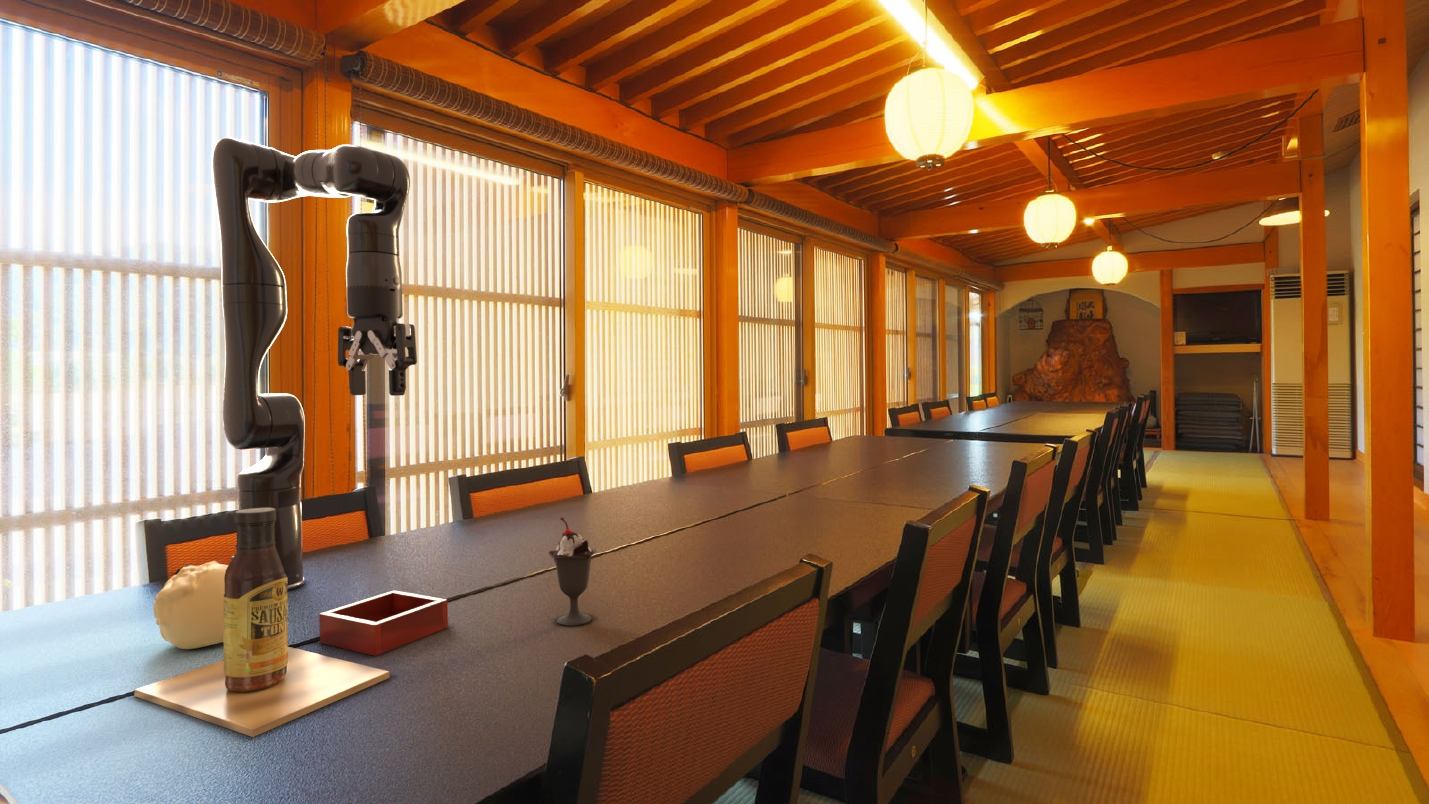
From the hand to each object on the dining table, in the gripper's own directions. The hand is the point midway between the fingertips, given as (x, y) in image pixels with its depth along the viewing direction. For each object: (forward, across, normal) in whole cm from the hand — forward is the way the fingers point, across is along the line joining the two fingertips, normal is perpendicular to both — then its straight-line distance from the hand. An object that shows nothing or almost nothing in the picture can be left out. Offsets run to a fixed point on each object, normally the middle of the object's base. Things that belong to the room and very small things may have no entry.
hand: (377, 395), depth 110 cm
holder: (+33, +8, -6) cm, 35 cm away
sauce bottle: (+32, +10, -25) cm, 42 cm away
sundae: (+33, +28, +10) cm, 45 cm away
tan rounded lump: (+33, -12, -18) cm, 40 cm away
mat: (+33, +10, -24) cm, 42 cm away
